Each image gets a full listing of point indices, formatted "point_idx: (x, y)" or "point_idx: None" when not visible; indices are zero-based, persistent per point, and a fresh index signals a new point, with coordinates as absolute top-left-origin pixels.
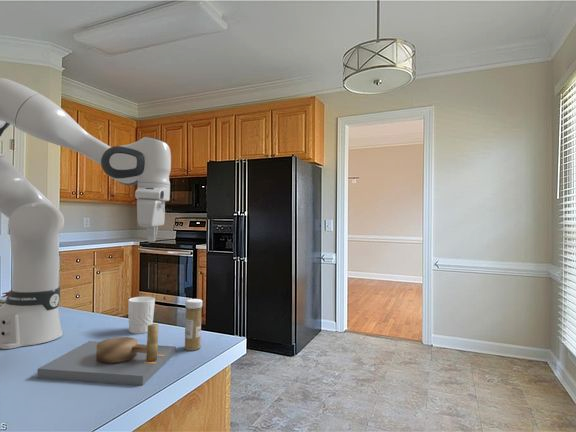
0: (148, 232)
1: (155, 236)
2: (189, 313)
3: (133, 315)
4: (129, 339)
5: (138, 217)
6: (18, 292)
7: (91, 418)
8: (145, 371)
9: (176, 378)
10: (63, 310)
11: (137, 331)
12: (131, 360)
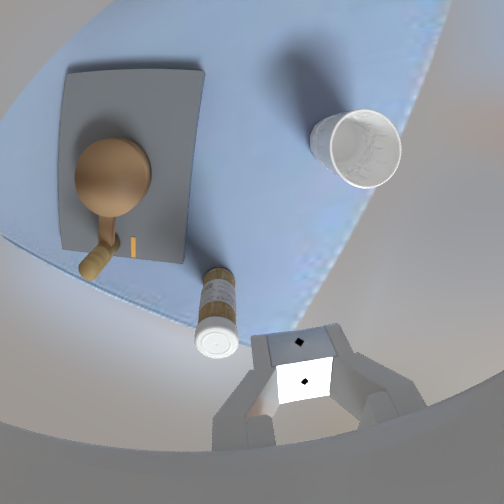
0: (231, 405)
1: (317, 391)
2: (199, 319)
3: (320, 132)
4: (131, 192)
5: None
6: None
7: (5, 218)
8: (74, 247)
9: (96, 282)
10: None
11: (310, 141)
12: None
